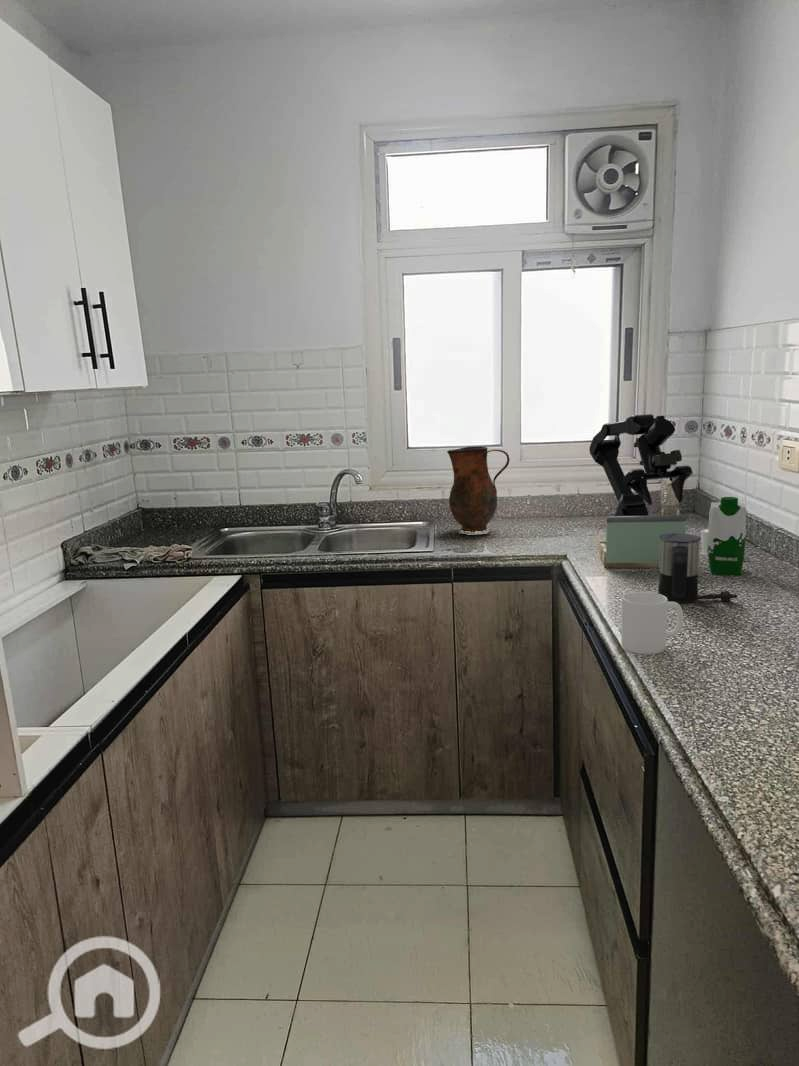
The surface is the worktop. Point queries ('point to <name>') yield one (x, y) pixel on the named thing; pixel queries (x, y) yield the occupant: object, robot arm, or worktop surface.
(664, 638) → the cup
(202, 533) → the worktop surface
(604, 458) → the robot arm
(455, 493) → the pitcher
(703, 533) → the shot glass
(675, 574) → the milk frother
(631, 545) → the sage green panel
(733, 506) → the milk carton
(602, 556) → the beige open tray
